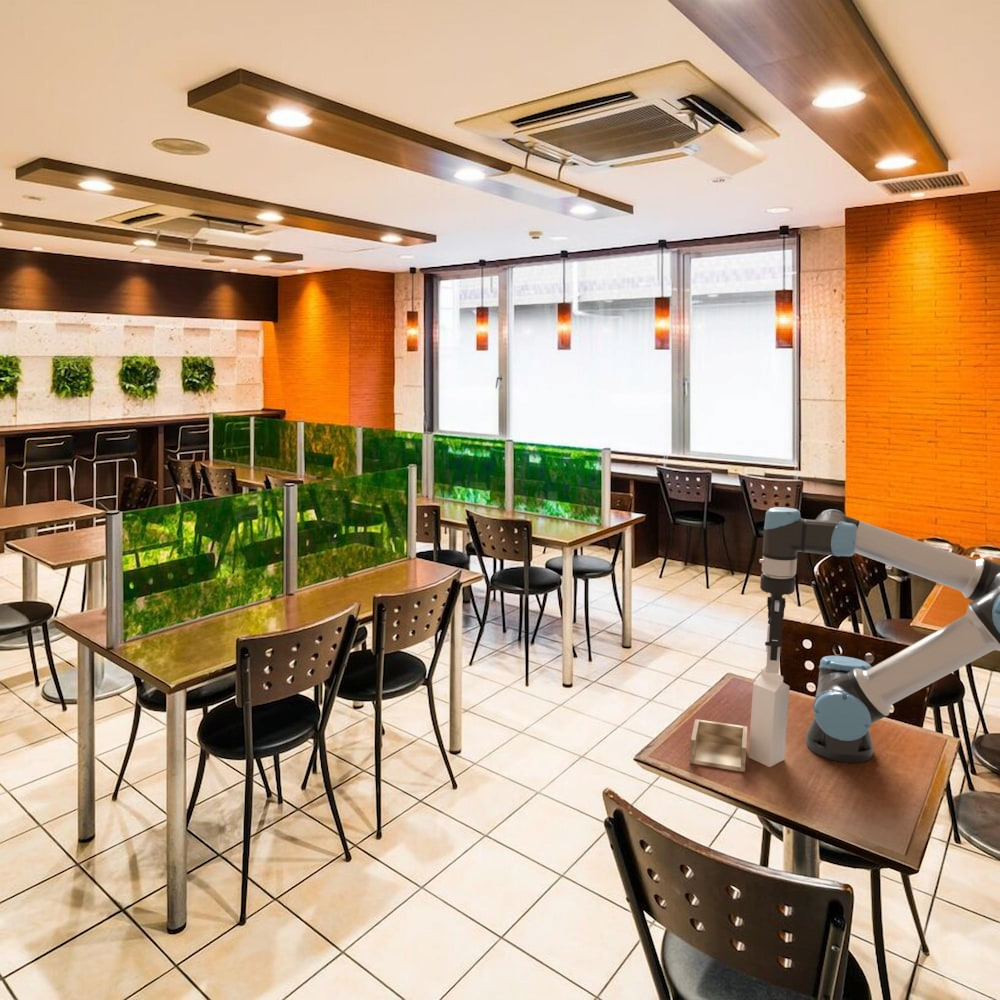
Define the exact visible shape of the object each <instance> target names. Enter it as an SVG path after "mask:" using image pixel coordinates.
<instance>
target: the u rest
mask: <svg viewBox="0 0 1000 1000" xmlns="http://www.w3.org/2000/svg"><path fill="white" fill-rule="evenodd" d="M747 741H748V726H747V725H739V724H733V723H732V724H731V723H725V722H718V721H711V720H704V719H698V718H695V719H694V723H693V728H692V734H691V739H690V749H689V750H690V752H689V753H690V755H689V764H694V765H700V766H706V767H713V768H718V769H723V770H730V771H736V772H741V773H743V772H744V773H745V772H746V762H747V761H746V759H747V757H746V756H747V743H748V742H747Z"/></svg>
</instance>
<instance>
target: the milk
mask: <svg viewBox="0 0 1000 1000" xmlns="http://www.w3.org/2000/svg"><path fill="white" fill-rule="evenodd" d="M751 699H752V700H751V713H750V714H751V715H750V729H749V742H748V743H749V747H748V758H749V759H752V760H753V761H755V762H758V763H760V764H762V765H765V766H766V767H769V768H771V767H773V766H775V765H777V764H780V763H781V762H783V761H785V755H786V742H787V741H786V740H787V729H788V728H787V727H788V714H789V699H790V685H788V684H787V683H785V682H784V676H783V675H781V674H776V673H768V672H766V668H765V669H764V668H762V669H761V670H760V675H759V676H758V677H757V679H756V680H755V681H754V682H753V684H752V698H751Z"/></svg>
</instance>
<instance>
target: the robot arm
mask: <svg viewBox="0 0 1000 1000" xmlns="http://www.w3.org/2000/svg"><path fill="white" fill-rule="evenodd" d="M764 517H765V518H764V524H763V525H764V526H763V542H762V558H759V561H758V562H759V563H760V564H761V572H762V573H761V574H760V584H759V585H760V588H759V589H760V590H761V591H762V592H764V593H766V594H768V593H769V594H770V595H769V596H767V598H766V599H767V600H766V601H767V602H766V603H767V605H766V607H767V619H768V621H767V624H768V625H767V632H766V641H765V643H764V646H766V647H765V652H766V654H767V655H766V667H765V670H766V672H768V673H776V674H779V673H780V672H779V671H780V661H781V660H780V659H781V646H782V642H781V641H782V627H783V619H784V618H785V617H784V616H785V609H786V597H783V596H785V595H791V594H793V593H794V592H795V591H796V589H795V588H796V577H795V576H796V575H797V566H798V564H797V563H798V552H801V553H808V554H809V553H810V554H818V555H826V556H835V557H852V556H854V555H855V554H857V555H860V556H862V557H866V558H868V559H871V560H874V561H876V562H878V563H879V562H880V563H882V564H885V565H888V566H890V567H894V568H896V569H899V570H902V571H904V572H906V573H909V574H912V575H915V576H918V577H920V578H923V579H926V580H929V581H931V582H935V583H937V584H939V585H942V586H946V587H948V588H951V589H954V590H956V591H959V592H961V594H962V596H963V597H964V598H965V599H967V600H971V601H972V602H970V603H968V604H967V607H966V612H965V615H962V616H961V617H959V618H957V619H955V620H953V621H951V622H950V623H948V624H947V625H944V626H943V627H941V628H939V629H938V630H936V631H934V632H933V633H930V634H928V635H927V636H925V637H923V638H922V639H920V640H918V641H916V642H915V643H913V644H911V645H909V646H908V647H906V648H904V649H902V650H900V651H899V652H897V653H895V654H894V655H892V656H890V657H887V658H886V659H885V660H883V661H881V662H878V663H877V664H875V665H874V666H871V664H870V663H868V662H866V661H864V660H862V659H859V658H855V657H850V656H844V655H827V656H826V655H825V656H823V657H822V658H821V659H820V661H819V662H820V663H819V666H818V668H819V672H818V680H817V688H816V692H815V693H816V694H815V697H814V702H813V706H812V707H813V715H814V717H813V719H812V721H811V723H810V725H809V728H808V730H807V731H806V732H807V733H806V738H805V739H806V740H805V743H806V746H807V747H808V748H809V750H811V751H812V752H813V753H815V754H816V755H818V756H820V757H822V758H825V759H829V760H832V761H836V762H841V763H848V764H852V763H853V764H855V763H862V762H867V761H869V760H870V759H871V758H872V757H873V752H874V744H873V740H872V736H871V733H870V728H871V726H872V724H874V723H876V722H878V721H880V720H882V719H884V718H885V717H887V716H889V715H890V711H891V706H892V705H894V704H895V703H897V702H899V701H902V700H903V699H905V698H906V697H909V696H910V695H912V694H914V693H916V692H918V691H920V690H921V689H924V688H925V687H927V686H930V685H931V684H932V683H935V682H937V681H938V680H940V679H942V678H944V677H946V676H948V675H949V674H952V673H953V672H955V671H957V670H959V669H961V668H963V667H965V666H966V665H969V664H971V663H972V662H974V661H976V660H979V659H980V658H981V657H983V656H986V655H988V654H989V653H991V652H993V651H998V652H1000V563H998V562H996V561H992V560H989V559H987V558H982V557H981V558H978V559H971V558H969V557H966V556H963V555H960V554H958V553H954V552H951V551H948V550H946V549H942V548H941V547H937V546H934V545H931V544H928V543H926V542H923V541H920V540H918V539H915V538H911V537H908V536H905V535H902V534H899V533H896V532H894V531H890V530H888V529H885V528H882V527H879V526H876V525H873V524H871V523H868V522H864V521H862V520H859V519H856V518H853V517H850V516H848V515H846V514H845V513H843V512H842V511H841V510H838V509H826V510H823V511H822V512H821V513H820V514H818V515H817V517H816V518H815V519H806V518H802V517H801V512H800V510H798V509H796V508H791V507H783V506H780V507H779V506H777V507H775V506H774V507H770V508H768V510H766V512H765V516H764ZM779 675H780V674H779Z"/></svg>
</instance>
